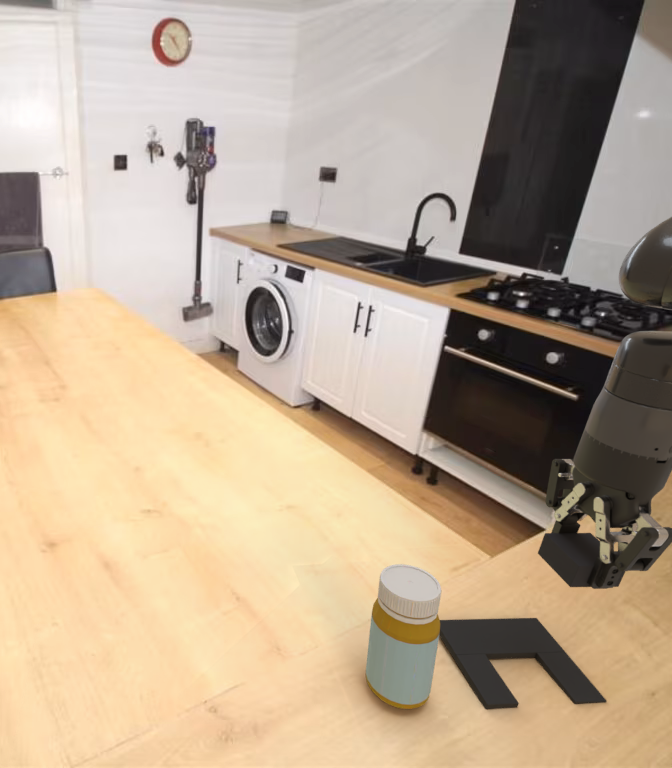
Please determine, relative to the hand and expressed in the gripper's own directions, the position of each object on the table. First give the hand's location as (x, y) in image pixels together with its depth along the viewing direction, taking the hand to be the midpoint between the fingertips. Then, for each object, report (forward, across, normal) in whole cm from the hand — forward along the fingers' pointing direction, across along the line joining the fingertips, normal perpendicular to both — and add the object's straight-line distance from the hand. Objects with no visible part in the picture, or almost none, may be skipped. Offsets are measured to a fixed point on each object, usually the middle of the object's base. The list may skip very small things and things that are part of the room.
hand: (578, 566), depth 61 cm
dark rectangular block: (0, 0, 0) cm, 0 cm away
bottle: (+16, +3, -19) cm, 25 cm away
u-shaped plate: (+16, 0, -3) cm, 16 cm away
